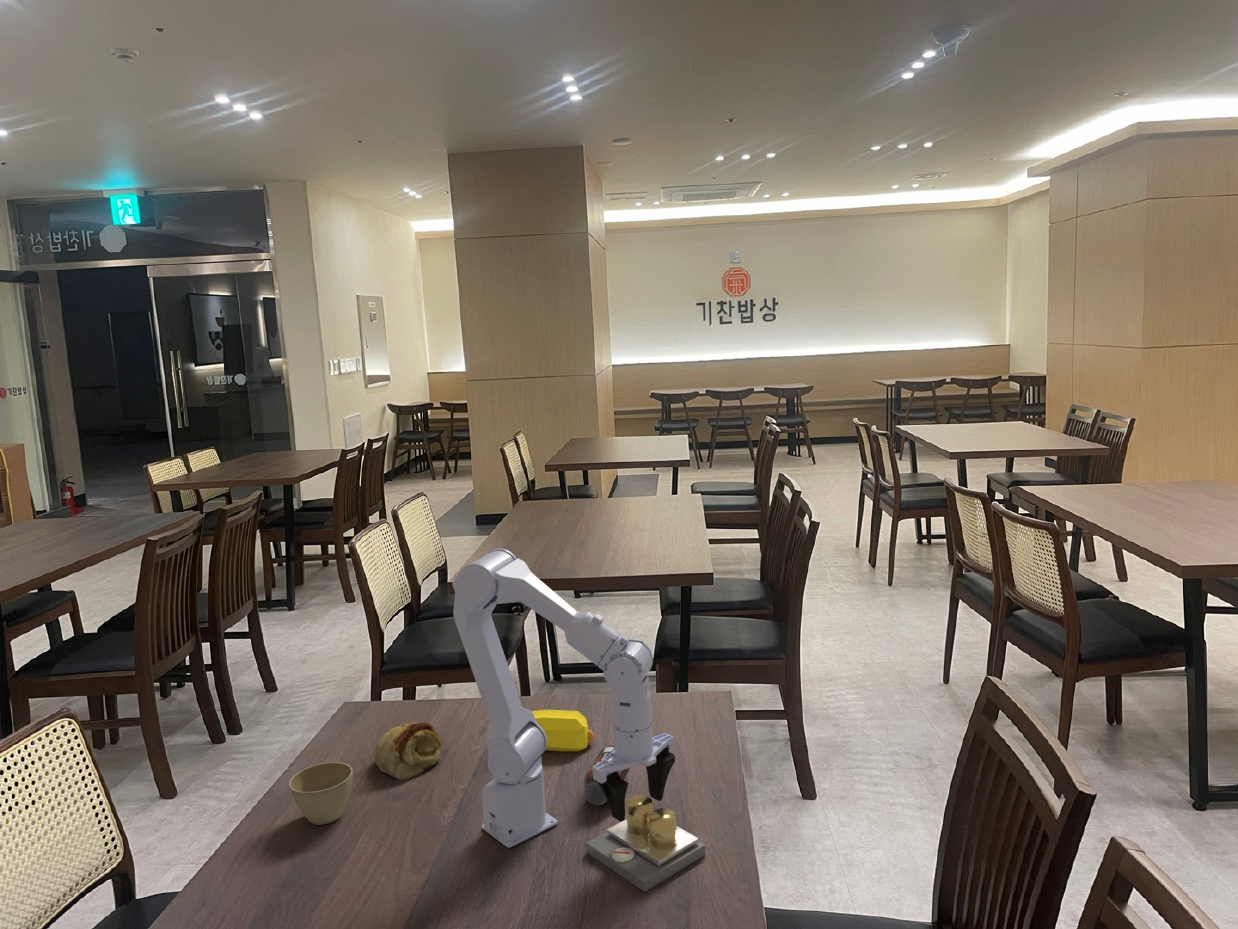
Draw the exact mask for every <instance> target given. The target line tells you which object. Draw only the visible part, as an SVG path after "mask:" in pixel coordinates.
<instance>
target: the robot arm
mask: <svg viewBox="0 0 1238 929" xmlns="http://www.w3.org/2000/svg"><path fill="white" fill-rule="evenodd" d="M451 586H452V587H453V590H454V602H453V612H452V613H453V618H454V619H453V620H454V622H455V624H456V628H457V630H458V633H459V637H460V639H461V643H462V646H463V648H464V651H465V655H466V656H467V660H468V663H469V665H470V668H471V672H472V674H473V677H474V680H475V683H476V686H477V689H478V692H479V694H480V699H481V700H482V703H483V706H484V709H485V711H486V715H487V717H488V720H489V723H488V728H487V732H486V735H485V736H486V737H485V740H484V742H485V746H486V750H487V760H486V761H487V762H486V763H487V767H488V771H490V773H491V775H492V777H493V779H492V780H491V781H490V782H488V783H487V784H485V785H484V786H483V787H482V789H481V803H482V804H481V805H482V806H481V807H482V816H483V824H482V825H481V829H483V830H484V831H485V832H487V833H488V834H489V836H492V837H493V838H494V839H496V840H497V841H498V842H499V843H501V844H502V845H503V846H505V847H506V848H509V849H510V848H512V847H515V846H516V845H518V844H520V843H522V842H525V841H527V840H528V839H530V838H533V837H534V836H536V835H538V834H540V833H542V832H544V831H547V830H548V829H550V828H552V827H554V826H556V825H557V824H559V822H558V820H557V819H556V818H555V817H554V816H552V815H550V814H549V813H548V812H547V809H546V798H545V795H546V794H545V784H544V783H545V782H544V771H543V765H542V755H543V754H544V752H546V750H545V749H546V747H547V736H546V734H545V732H544V730H543V729H542V727H541V726H540V725H539V724H538V723H537V721H536V720H535V717H534V714H533V712H531V711H532V710H530V709H527V708H525V707H523V705H522V702H521V699H520V696H519V693H518V690H517V687H516V684H515V682H514V679H513V675H512V673H511V669H510V667H509V663H508V661H507V657H506V655H505V653H504V649H503V647H502V644H501V640H500V638H499V635H498V632H497V628H496V625H495V624H494V623H495V622H494V620H493V617H492V613H493V611H494V609H495V608H496V606H497V604H498V605H500V604H509V603H510V604H511V603H521V604H523V605H524V606H526V607H527V608H529V609H530V610H532V611H534V612H536V613H537V614H538V615H540V616H542V617H543V618H544V619H546V620H547V621H548V622H550V623H551V624H553V625H555V626H556V627H558V628H559V629H560V630H562V631H563V632H564V636H565V641H566V643H567V644H568V645H569V646H570V647H571V648H573V649H574V650H575V651H576V652H578V653H579V654H580V655H582V656H584V658H586V659H588V660H589V661H590V662H591V663H592V664H594V665H596V666H597V667H598V668H599V669H600V670H602V671H603V672H602V673H603V677H604V679H605V681H606V683H607V685H608V686H609V687H610V690H611V705H612V706H611V707H612V722H613V739H614V740H613V741H614V745H615V749H614V750H613V751H612V752H611V753H610V754H609V755H608V756H607V757H606V758H604V759H603V760H602V761H601V762H600V763H598V764H597V765H595V766H593V767H592V769H593V779H595V780H596V782H597V783H598V784H599V786H600V787H601V789H602V791H603V793H604V795H605V797H606V799H607V801H606V802H607V803H608V807H609V810H610V812H611V817H612V818H613V819H615V820H617V821H619V823H620V822H622V821H624V820H626V819H625V818H626V793H627V789H628V786H629V782H627V781H626V780H625V779H624V780H622V779H621V776H619V772H620V771H622V770H624V769H628V768H630V769H631V768H636V767H639V766H645V768H646V774H647V775H646V776H647V783H648V784H647V785H648V792H649V796H650V797H649V798H652V799H653V800H656V801H657V802H660V801H662V800H663V798H664V793H665V787H666V783H667V780H668V777H669V775H670V772H671V769H672V767H673V766H674V764H675V762H676V756H675V754H674V753H673V752H671V750H674V749H675V737H674V736H673V735H672V734H669V733H666V732H663V733H661V734H659V735H655V736H653V721H652V720H653V719H652V705H651V704H652V702H651V692H650V691H651V690H650V677H649V676H648V675H647V674H649V672H650V671H651V669H652V666H653V662H654V657H653V653H652V651H651V649H650V648H649V647H648V645H647V644H645V642H644V641H643V640H642V639H638V638H629V637H628V636H626V635H625V634H624V635H622V634H621V633H619V632H618V631H617V630H615V629H614V628H613V627H611V626H610V625H608V624H607V623H606V622H605V621H604V619H605V617H603V616H602V615H600V614H599V613H596V614H594V613H593V612H591V611H582V612H581V611H580V612H579V611H577V610H576V609H575V608H574V607H573V606H571V605H570V604H569V603H568V602H567V601H566V600H564V599H563V598H562V597H560V595H559V594H557V593H556V592H555V591H553V590H552V589H551V588H550V587H549V586H548V585H546V583H544V581H542V580H540V578H539V577H537V576H536V575H535V574H534V573H533V572H532V571H531V570H530V568H529V566H528V564H527V563H526V562H525V561H524V560H523V559H520V558H518V557H516V556H515V554H514V553H512V552H511V551H509V550H508V549H506V548H495V549H492V550H490V551H489V552H488V553H487V554H485V555H483V556H482V557H480V558H478V559H476V560H474V561H473V562H471V563H469V564H466V565H465V566H463V567H462V568H461V569H460V571H459V572H458V573H457V575H456V577H454V580H453V581H452V585H451Z"/></svg>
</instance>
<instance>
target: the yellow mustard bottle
mask: <svg viewBox="0 0 1238 929" xmlns="http://www.w3.org/2000/svg"><path fill="white" fill-rule="evenodd" d="M530 711H531V712H533V714H534V717H535V720H536V721H537V723H538V724H539V725H540V726H541V727H542V729H543V730H544V732H545V734H546V736H547V747H546V749H545V751H549V752H550V751H551V752H581V751H583V750H584V749H586V748H587V747H588V745H589V744H592V743H593V741H594V738H595V735H594V732H593V730H591V729H589V726H588V721H587V718H586V716H584V715H583V714H582V713H581V712H580V711H579V710H564V709H539V710H530Z"/></svg>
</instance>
